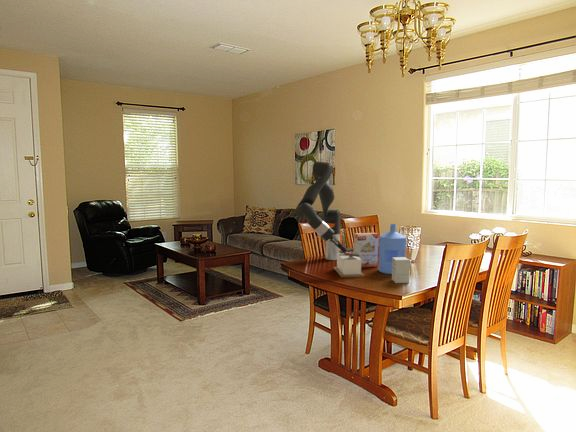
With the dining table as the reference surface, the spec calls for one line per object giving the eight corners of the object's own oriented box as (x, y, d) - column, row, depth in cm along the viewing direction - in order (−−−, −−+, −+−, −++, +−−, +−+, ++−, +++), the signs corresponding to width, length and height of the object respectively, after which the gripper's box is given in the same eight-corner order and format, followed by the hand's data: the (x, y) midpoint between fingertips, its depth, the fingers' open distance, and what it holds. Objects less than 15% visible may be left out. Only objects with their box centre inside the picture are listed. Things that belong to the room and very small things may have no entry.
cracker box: (357, 268, 256) (357, 234, 254) (353, 266, 262) (353, 233, 259) (378, 266, 260) (378, 233, 257) (373, 264, 265) (374, 232, 263)
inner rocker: (339, 254, 252) (338, 250, 251) (352, 251, 252) (351, 247, 252) (341, 255, 248) (340, 251, 247) (354, 252, 248) (353, 248, 248)
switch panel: (334, 268, 255) (334, 250, 254) (355, 268, 257) (355, 250, 255) (341, 277, 235) (341, 257, 233) (364, 276, 236) (364, 257, 235)
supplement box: (404, 279, 230) (405, 256, 228) (409, 283, 222) (409, 259, 221) (391, 279, 229) (392, 256, 228) (395, 283, 222) (395, 259, 221)
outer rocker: (343, 255, 241) (344, 251, 240) (356, 257, 241) (357, 253, 241) (344, 257, 237) (345, 252, 236) (358, 258, 237) (359, 254, 237)
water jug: (373, 269, 252) (374, 223, 249) (395, 267, 258) (396, 222, 255) (388, 275, 238) (389, 226, 235) (411, 273, 243) (412, 225, 240)
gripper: (331, 227, 229) (352, 249, 232) (326, 224, 243) (347, 245, 245) (321, 237, 229) (343, 258, 232) (317, 233, 243) (338, 254, 245)
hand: (345, 251), depth 238 cm, fingers closed
